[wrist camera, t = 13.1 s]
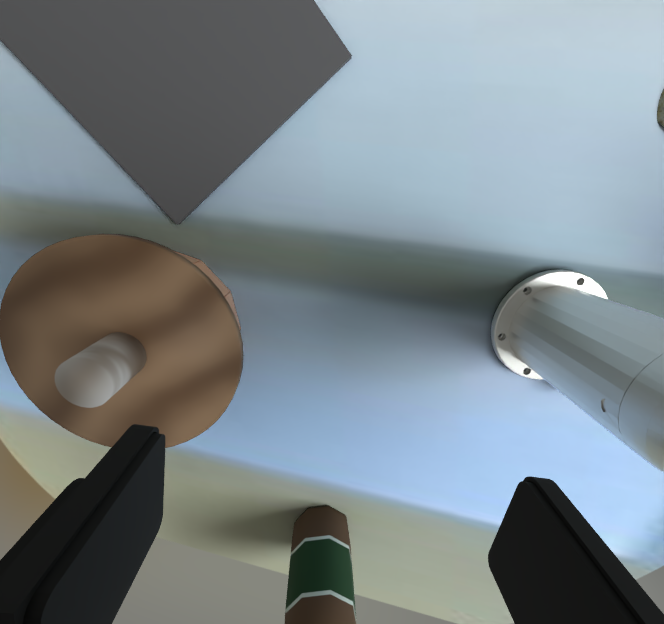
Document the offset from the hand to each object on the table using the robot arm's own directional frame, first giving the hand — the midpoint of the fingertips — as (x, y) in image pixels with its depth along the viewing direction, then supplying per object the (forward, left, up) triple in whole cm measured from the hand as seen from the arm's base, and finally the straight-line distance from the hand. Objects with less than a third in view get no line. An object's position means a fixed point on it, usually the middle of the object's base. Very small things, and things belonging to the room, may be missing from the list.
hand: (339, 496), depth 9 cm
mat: (+24, -3, -28) cm, 38 cm away
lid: (+7, +17, -21) cm, 28 cm away
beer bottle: (-26, +23, -28) cm, 45 cm away
